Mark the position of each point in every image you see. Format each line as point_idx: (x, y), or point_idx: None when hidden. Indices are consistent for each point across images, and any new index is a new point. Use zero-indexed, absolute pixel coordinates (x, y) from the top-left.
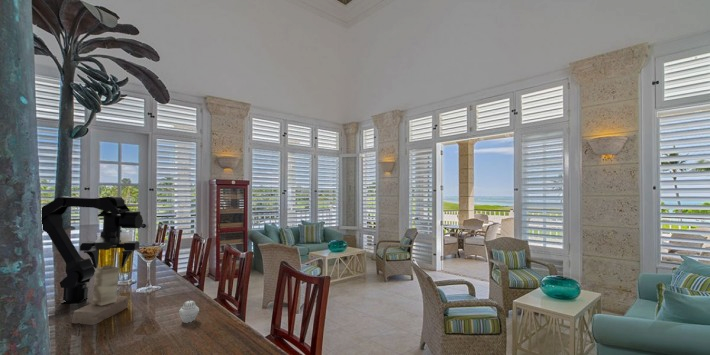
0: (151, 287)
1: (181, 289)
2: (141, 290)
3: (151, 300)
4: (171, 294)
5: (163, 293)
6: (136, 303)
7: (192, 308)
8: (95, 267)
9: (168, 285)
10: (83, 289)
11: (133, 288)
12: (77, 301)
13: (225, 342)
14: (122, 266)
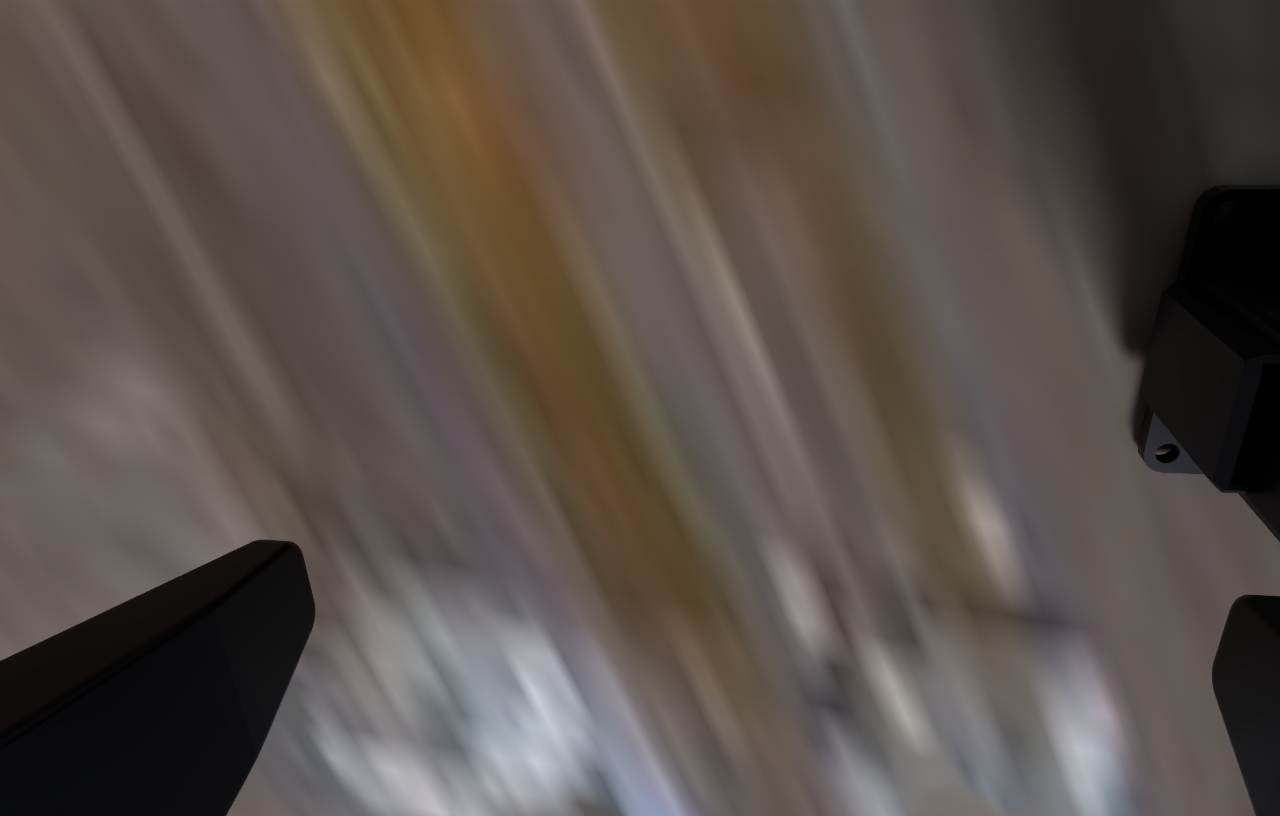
0: (440, 768)
1: (26, 624)
2: (503, 674)
3: (111, 187)
4: (14, 436)
5: (144, 498)
6: (244, 50)
7: None
8: (1272, 608)
9: (277, 802)
10: (1270, 353)
11: (648, 772)
12: (1250, 205)
13: None
14: (239, 556)
